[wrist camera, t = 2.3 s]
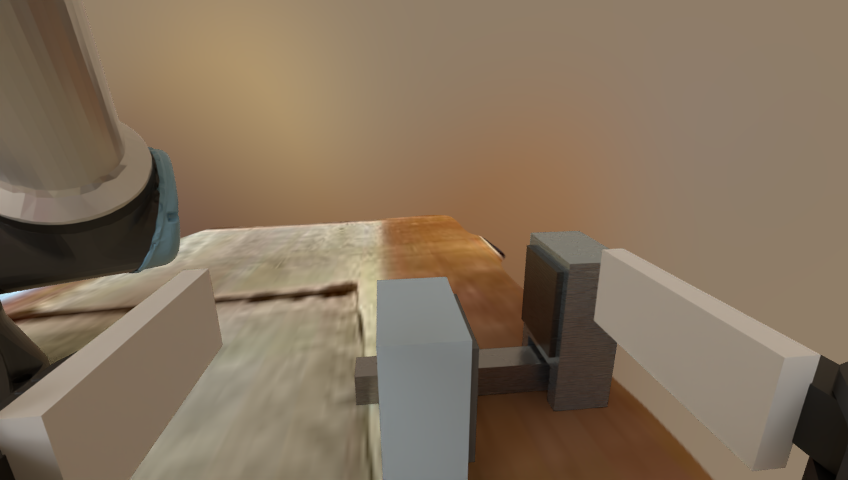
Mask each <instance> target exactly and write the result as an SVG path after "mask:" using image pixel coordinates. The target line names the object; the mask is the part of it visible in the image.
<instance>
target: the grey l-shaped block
mask: <svg viewBox="0 0 848 480" xmlns="http://www.w3.org/2000/svg"><path fill="white" fill-rule="evenodd" d="M603 249H609V248H607V247H605V246H604V245H602V244H600V243H599V242H597V241H595V240H594V239H592V238H590V237H589V236H587V235H585V234H583V233H582V232H580V231H569V232H568V231H567V232H543V233H542V232H540V233H531V239H530V245H528V246H527V252H526V267H525V281H524V293H523V306H522V320H523V321H524V328H523V341H522V347H508V348H493V349H479V367H478V392H477V396H478V395H491V394H504V393H517V392H529V391H542V390H548V396H547V400H548V402H549V404H550V406H551V407H552V409H553V411H562V410H574V409H586V408H598V407H607V405H608V398H609V392H610V386H611V379H612V373H613V367H614V360H615V354H616V347H617V342H616V341H615V340H614V339H613V338H612V337H611V336H610V335H609V334H607V333H606V332H605V331H604V330H603V329H602V328H601V327H600V326H599V325H598V324H597V323H596V322H595V321H594V315H595V307H596V299H597V290H598V282H599V274H600V266H601V258H602V250H603ZM355 390H356V405H362V404H375V403H379V390H378V370H377V356H372V357H357V358H356V367H355Z"/></svg>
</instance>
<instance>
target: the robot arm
mask: <svg viewBox="0 0 848 480" xmlns="http://www.w3.org/2000/svg"><path fill="white" fill-rule="evenodd" d="M179 246H180V222H179V216H178V197H177V190H176V182H175V176H174V171H173V167H172V163H171V160H170V157H169V156H168V154H167V153H166V152H164V151H162V150H158V149H153V148H150V147H147V145H146V143H145V141H144V140H143V138H142V137H141V136H140V135H139V134H138V133H137V132H136V131H134V130H133V129H132V128H130V127H129V126H127V125H126V124H124V123H122V122H120V121H119V119H118V116H117V112H116V109H115V106H114V102H113V99H112V96H111V93H110V89H109V86H108V83H107V79H106V76H105V73H104V70H103V66H102V63H101V60H100V57H99V53H98V50H97V47H96V43H95V40H94V37H93V34H92V30H91V27H90V24H89V21H88V17H87V14H86V11H85V8H84V4H83V1H82V0H0V294H4V293H11V292H16V291H22V290H28V289H33V288H39V287H45V286H51V285H57V284H63V283H69V282H74V281H80V280H86V279H92V278H98V277H104V276H110V275H116V274H122V273H139V272H141V271H142V270H144V269H149V268H153V267H158V266H162V265H166V264H168V263H170V262H171V261H173V260H174V259H175V257H176V256H177V254H178V251H179ZM594 321H595V322H596V323H597V324H598V325H599V326H600V327H601V328H602V329H603V330H604V331H605V332H606V333H607V334H609V335H610V336H611V337H612V338H613V339H614V340H615V341H616V342H617V343H618V344H619V345H620V346H621V347H622V348H623V349H625V350H626V352H628V353H629V354H630V355H631V356H632V357H633V358H634V359H635V360H636V361H637V362H638V363H639V364H640V365H641V366H642V367H643V368H644V369H645V370H646V371H647V372H649V373H650V374H651V375H652V376H653V377H654V378H655V379H656V380H657V381H658V382H659V383H660V384H661V385H662V386H663V387H664V388H665V389H666V390H668V391H669V392H670V393H671V394H672V395H673V396H674V397H675V398H676V399H677V400H678V401H679V402H680V403H681V404H682V405H683V406H684V407H686V409H687V410H689V411H690V412H691V413H692V414H693V415H694V416H695V417H696V418H697V419H698V420H699V421H700V422H701V423H702V424H703V425H704V426H705V427H706V428H707V429H709V430H710V431H711V432H712V433H713V434H714V435H715V436H716V437H717V438H718V439H719V440H720V441H721V442H722V443H723V444H724V445H725V446H726V447H728V448H729V449H730V450H731V451H732V452H733V453H734V454H735V455H736V456H737V457H738V458H739V459H740V460H741V461H742V462H743V463H744V464H746V465H747V467H749V468H750V469H751V470H752V471H759V470H768V469H777V468H785V467H786V464H787V461H788V458H789V454H790V451H791V448H792V445H793V443H794V444H795V445H796V446H798V447H799V448H800V449H801V450H803V451H804V452H805V453H806V454H808V455H809V459H808V462H807V465H806V468H805V471H804V475H803V477H802V480H848V362H845V363H843V364H841V365H839V364H837V363H835V362H833V361H831V360H829V359H828V358H826V357H824V356H822V355H820V354H818V353H816V352H814V351H813V350H811V349H809V348H807V347H805V346H803V345H802V344H800V343H798V342H796V341H794V340H792V339H790V338H789V337H787V336H785V335H783V334H781V333H779V332H777V331H775V330H774V329H772V328H770V327H768V326H766V325H764V324H763V323H761V322H759V321H757V320H755V319H753V318H751V317H749V316H748V315H746V314H744V313H742V312H740V311H738V310H736V309H734V308H733V307H731V306H729V305H727V304H725V303H724V302H722V301H720V300H718V299H716V298H714V297H712V296H710V295H709V294H707V293H705V292H703V291H701V290H699V289H698V288H696V287H694V286H692V285H690V284H688V283H686V282H684V281H683V280H681V279H679V278H677V277H675V276H673V275H672V274H670V273H668V272H666V271H664V270H662V269H660V268H658V267H657V266H655V265H653V264H651V263H649V262H647V261H646V260H644V259H642V258H640V257H638V256H636V255H634V254H633V253H631V252H629V251H627V250H625V249H603V250H602V258H601V266H600V274H599V282H598V290H597V299H596V307H595V315H594ZM222 345H223V344H222V338H221V333H220V327H219V322H218V316H217V311H216V305H215V300H214V294H213V289H212V284H211V278H210V273H209V268H208V269H187V270H182V271H181V272H180V273H178V274H177V275H176V276H175V277H173V278H172V279H171V280H169V281H168V282H167V283H166V284H164V285H163V286H162V287H160V288H159V289H158V290H156V291H155V292H154V293H153V294H151V295H150V296H149V297H147V298H146V299H145V300H144V301H142V302H141V303H140V304H138V305H137V306H136V307H134V308H133V309H132V310H131V311H129V312H128V313H127V314H125V315H124V316H123V317H122V318H120V319H119V320H118V321H116V322H115V323H114V324H112V325H111V326H110V327H109V328H107V329H106V330H105V331H103V332H102V333H101V334H100V335H98V336H97V337H96V338H94V339H93V340H92V341H90V342H89V343H88V344H87V345H85V346H84V347H83V348H81V349H80V350H79V351H77V352H75V353H73V354H71V355H69V356H67V357H65V358H63V359H61V360H59V361H57V362H55V363H53V364H51V365H50V362H49V360H48V358H47V356H46V355H45V354H44V353H43V352H42V350H41V349H40V348H39V347H38V346H37V345H36V344H35V343H34V342H33V341H32V340H31V339H30V338H29V337H28V336H27V335H26V334H25V333H24V332H23V331H22V330H21V329H20V328H19V327H18V326H17V325H16V324H15V323H14V322H13V321H12V320H11V319H10V318H9V317H8V316H7V315H6V313H5V311H4V309H3V306H2V304H1V301H0V480H129V479H130V478H131V476H132V475H133V474H134V472H135V471H136V469H137V468H138V466H139V465H140V463H141V462H142V461H143V459H144V458H145V456H146V455H147V453H148V452H149V450H150V449H151V448H152V446H153V445H154V443H155V442H156V440H157V439H158V437H159V436H160V435H161V433H162V432H163V430H164V429H165V427H166V426H167V424H168V423H169V422H170V420H171V419H172V417H173V416H174V414H175V413H176V412H177V410H178V409H179V407H180V406H181V404H182V403H183V401H184V400H185V399H186V397H187V396H188V394H189V393H190V391H191V390H192V388H193V387H194V386H195V384H196V383H197V381H198V380H199V378H200V377H201V375H202V374H203V373H204V371H205V370H206V368H207V367H208V365H209V364H210V362H211V361H212V360H213V358H214V357H215V355H216V354H217V352H218V351H219V349H220V348H221V347H222Z"/></svg>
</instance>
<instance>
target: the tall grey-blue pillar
mask: <svg viewBox="0 0 848 480" xmlns="http://www.w3.org/2000/svg"><path fill="white" fill-rule="evenodd" d="M376 349H377V370H378V390H379V410H380V431H381V451H382V471H383V480H468V462H475V443H476V417H477V392H478V367H479V346H478V344H477V342H476V339H475V337H474V334H473V332H472V330H471V327H470V325H469V323H468V320H467V318H466V316H465V313H464V311H463V308H462V306H461V304H460V301H459V299H458V297H457V294H453V292H452V290H451V287H450V285H449V282H448V280H447V277H437V278H416V279H395V280H377V337H376Z"/></svg>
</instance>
